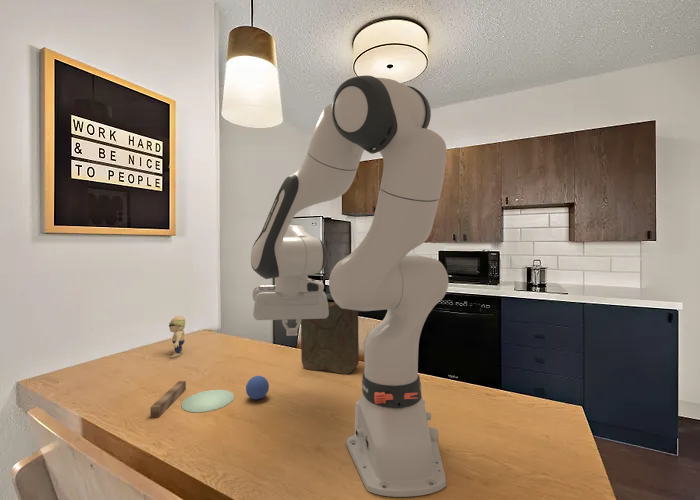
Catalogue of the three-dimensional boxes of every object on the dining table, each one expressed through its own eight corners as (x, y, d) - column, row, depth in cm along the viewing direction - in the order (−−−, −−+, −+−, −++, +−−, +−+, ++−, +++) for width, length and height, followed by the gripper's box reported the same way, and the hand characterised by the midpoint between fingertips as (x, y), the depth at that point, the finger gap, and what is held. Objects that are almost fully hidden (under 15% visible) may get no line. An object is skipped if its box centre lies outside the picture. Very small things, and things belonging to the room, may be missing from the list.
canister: (360, 367, 115) (359, 293, 115) (352, 376, 107) (351, 297, 107) (310, 361, 122) (309, 291, 121) (299, 369, 114) (298, 295, 113)
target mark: (226, 411, 85) (226, 410, 85) (172, 413, 84) (172, 412, 84) (239, 389, 98) (239, 388, 98) (192, 391, 97) (192, 390, 97)
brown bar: (159, 417, 82) (158, 406, 82) (150, 417, 82) (150, 407, 82) (185, 389, 98) (185, 380, 98) (178, 389, 98) (178, 381, 98)
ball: (267, 403, 89) (266, 380, 89) (243, 404, 89) (243, 381, 89) (270, 393, 95) (270, 372, 95) (248, 394, 95) (248, 372, 95)
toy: (172, 351, 135) (172, 313, 135) (188, 349, 137) (187, 312, 137) (165, 361, 123) (165, 320, 123) (182, 359, 125) (182, 319, 125)
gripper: (250, 286, 88) (250, 339, 89) (328, 285, 90) (329, 337, 90) (255, 284, 95) (255, 333, 95) (328, 282, 96) (328, 331, 97)
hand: (292, 335), depth 93 cm, fingers closed
